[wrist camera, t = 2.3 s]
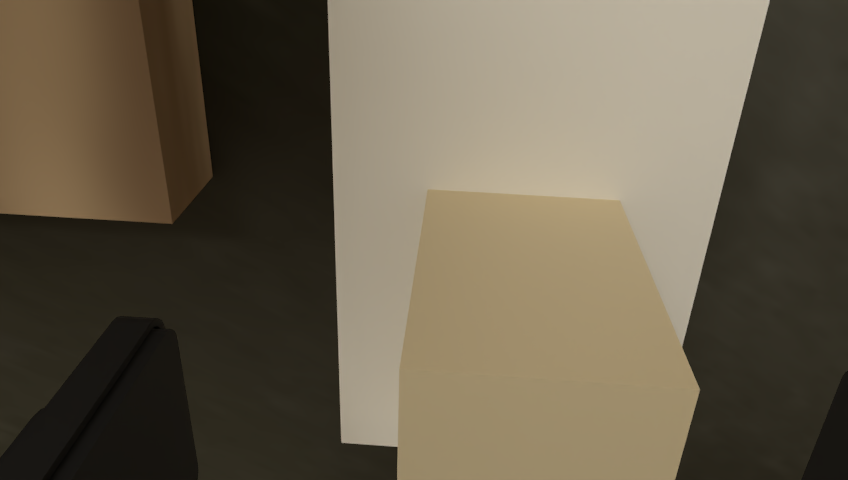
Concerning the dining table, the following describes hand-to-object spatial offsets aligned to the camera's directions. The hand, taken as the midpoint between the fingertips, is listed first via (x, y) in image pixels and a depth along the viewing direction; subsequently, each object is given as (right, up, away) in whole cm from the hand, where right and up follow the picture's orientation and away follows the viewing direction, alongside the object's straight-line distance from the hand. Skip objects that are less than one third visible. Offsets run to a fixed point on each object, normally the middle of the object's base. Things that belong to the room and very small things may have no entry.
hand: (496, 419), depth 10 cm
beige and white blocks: (+1, +7, +8) cm, 11 cm away
